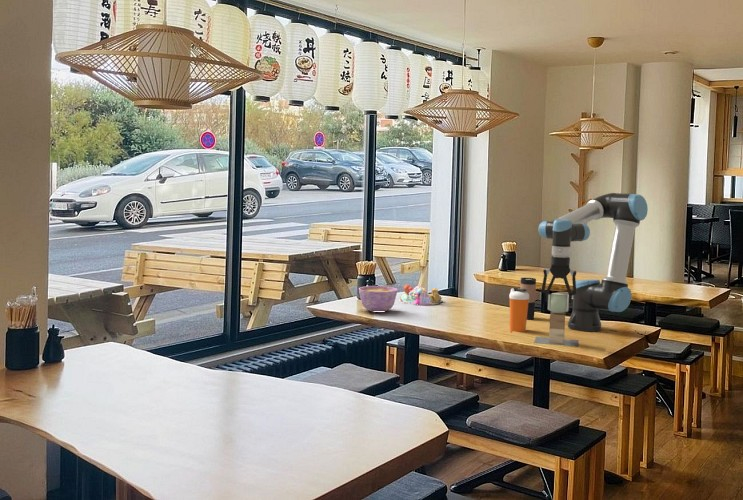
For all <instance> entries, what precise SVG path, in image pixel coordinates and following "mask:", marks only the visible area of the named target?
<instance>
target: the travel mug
mask: <svg viewBox="0 0 743 500" xmlns="http://www.w3.org/2000/svg"><path fill="white" fill-rule="evenodd" d="M519 285H520V288H519V289H527V290H526V292H527V293H528V294H529V301H528V311H527V321H529V320H530V321H532V320H534V319H535V311H536V309H535V308H536V295H537V294H536V293H537V278H534V277H520V284H519ZM521 291H522V290H521Z"/></svg>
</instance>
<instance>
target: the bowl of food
mask: <svg viewBox="0 0 743 500" xmlns="http://www.w3.org/2000/svg"><path fill="white" fill-rule="evenodd" d="M398 291H399V290H398V288H396V287H392V286H387V285H385V286H384V285H366V286H361V287H359V288H358V293H359V296H360V297H359V298H360V301H361V305H362V306H363V308H364V309H366V310H368V311H370V310H371V311H389V310H391V309H392V308H393V306H394V305H395V301H396V299H397V298H396V297H397V294H398Z"/></svg>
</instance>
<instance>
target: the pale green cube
mask: <svg viewBox="0 0 743 500" xmlns="http://www.w3.org/2000/svg"><path fill="white" fill-rule="evenodd" d="M549 294H550V310H548V311H550V313H551V312H558V313H567V311H566V306H567V295H568V294H566V293H561V292H560V293H559V292H557V293H555V292H554V293H549Z"/></svg>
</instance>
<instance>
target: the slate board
mask: <svg viewBox="0 0 743 500" xmlns="http://www.w3.org/2000/svg"><path fill="white" fill-rule="evenodd" d="M533 343H534V344H540V345H553V346H564V347H577V348H578V347H579V340H578V339H568V338H564V343H563V344H562V343H550V342H549V337H543V336H535V338H534V341H533Z"/></svg>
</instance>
